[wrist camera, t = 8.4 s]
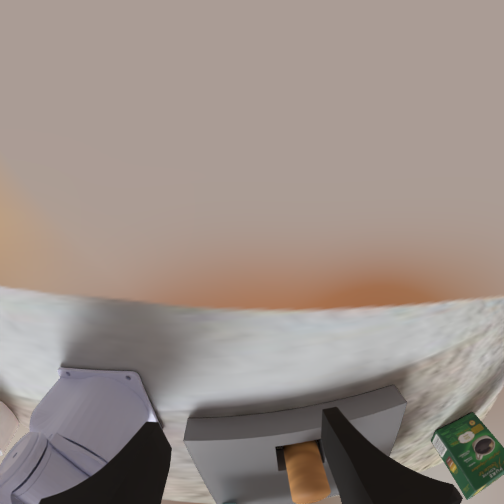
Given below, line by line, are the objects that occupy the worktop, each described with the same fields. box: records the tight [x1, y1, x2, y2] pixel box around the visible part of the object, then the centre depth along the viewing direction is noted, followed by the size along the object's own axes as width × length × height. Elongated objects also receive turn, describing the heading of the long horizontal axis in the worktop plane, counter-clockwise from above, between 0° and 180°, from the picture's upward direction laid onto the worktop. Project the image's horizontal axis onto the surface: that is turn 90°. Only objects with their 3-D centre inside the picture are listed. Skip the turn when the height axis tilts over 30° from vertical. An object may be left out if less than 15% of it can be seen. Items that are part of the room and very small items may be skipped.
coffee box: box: [431, 412, 504, 500], centre depth 19 cm, size 8×3×13 cm, turn 95°
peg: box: [283, 440, 331, 504], centre depth 19 cm, size 3×3×8 cm
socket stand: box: [183, 385, 407, 504], centre depth 20 cm, size 20×16×8 cm
